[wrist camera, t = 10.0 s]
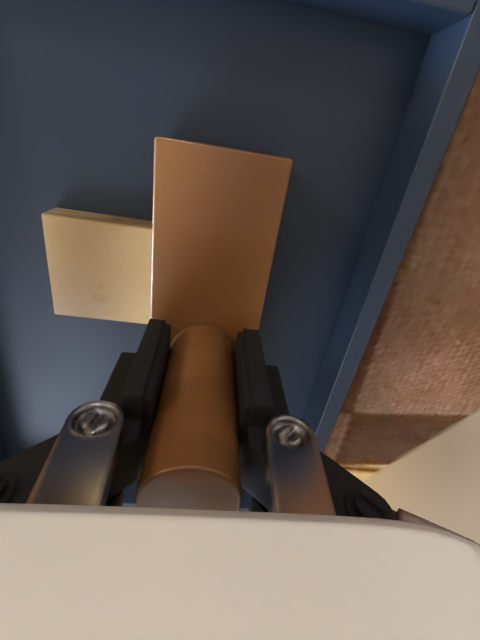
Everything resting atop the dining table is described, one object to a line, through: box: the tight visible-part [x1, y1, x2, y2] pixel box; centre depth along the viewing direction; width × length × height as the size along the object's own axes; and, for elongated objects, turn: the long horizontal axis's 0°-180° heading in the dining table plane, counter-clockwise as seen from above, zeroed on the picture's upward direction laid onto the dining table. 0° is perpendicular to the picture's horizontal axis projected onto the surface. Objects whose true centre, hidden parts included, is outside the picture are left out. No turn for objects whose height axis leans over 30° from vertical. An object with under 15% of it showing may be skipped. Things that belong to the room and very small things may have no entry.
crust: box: [41, 207, 152, 324], centre depth 13 cm, size 4×4×1 cm
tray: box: [0, 0, 480, 512], centre depth 14 cm, size 18×24×3 cm
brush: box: [135, 136, 293, 511], centre depth 11 cm, size 4×14×8 cm, turn 172°
